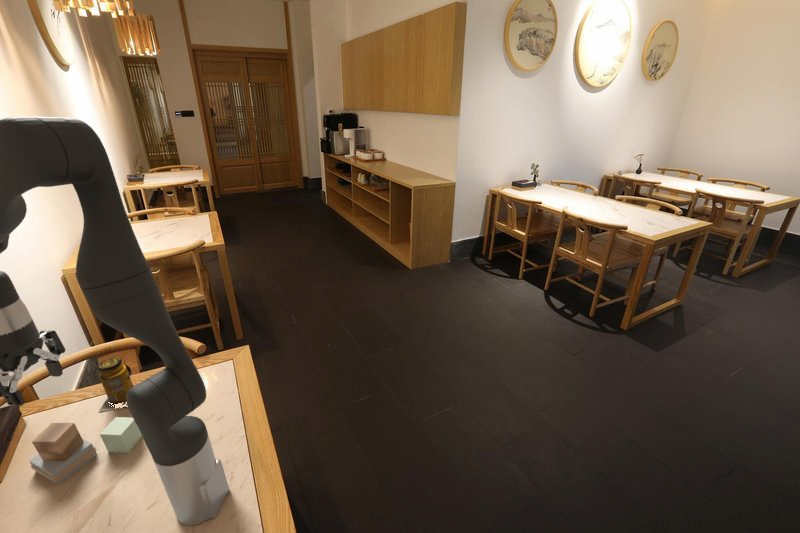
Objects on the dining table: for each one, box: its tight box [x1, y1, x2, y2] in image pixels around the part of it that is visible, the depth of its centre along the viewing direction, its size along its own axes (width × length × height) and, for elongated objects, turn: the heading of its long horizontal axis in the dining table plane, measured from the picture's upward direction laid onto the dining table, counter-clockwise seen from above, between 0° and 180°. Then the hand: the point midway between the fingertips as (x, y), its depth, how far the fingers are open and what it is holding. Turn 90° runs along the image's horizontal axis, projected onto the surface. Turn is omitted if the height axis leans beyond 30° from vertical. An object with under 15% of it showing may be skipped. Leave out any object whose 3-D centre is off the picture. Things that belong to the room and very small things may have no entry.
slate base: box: [28, 438, 98, 485], centre depth 83 cm, size 8×8×4 cm
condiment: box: [97, 356, 135, 413], centre depth 99 cm, size 7×8×12 cm
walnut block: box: [31, 422, 84, 461], centre depth 81 cm, size 5×5×6 cm
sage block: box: [99, 416, 143, 454], centre depth 88 cm, size 5×5×6 cm
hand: (39, 389), depth 77 cm, fingers open, 8 cm apart
